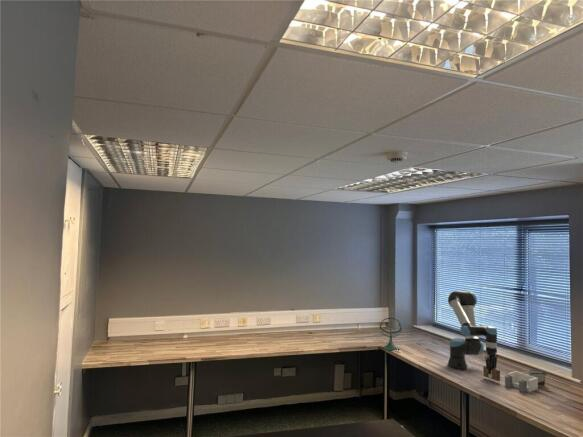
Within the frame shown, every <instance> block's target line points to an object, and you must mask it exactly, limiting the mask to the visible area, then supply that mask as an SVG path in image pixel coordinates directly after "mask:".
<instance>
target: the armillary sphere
mask: <svg viewBox="0 0 583 437" xmlns="http://www.w3.org/2000/svg"><path fill="white" fill-rule="evenodd" d="M392 316H393V315H392V312H391V313H390V317H386V318H384V319H382V321H381V322H379V331H380V332H381V334H382V335H383V336H385V337H387V338H389V339H388V340H389V341H388V343H387V344H386V345H384V346H385V348H384V346H382V347H381V349H383V351H389V352H394V351H393V350H397V348H398V347H397V346H395V344H394V343H393V338H396V337H398V336H399V335H400V334H401V333H402V331H403V326H402V323H401V322H400V321H399V320H398V319H396V318H393V317H392ZM385 320H390V325H389V331H387V330H384V329H383V328H382V325H383V324H384V321H385ZM392 320H394V321H396V322H398V326H399V327H400V328H399V329H398V330H396V331H392ZM383 332H384V333H383ZM385 333H387V334H389V335H387V334H385ZM393 334H396V335H393ZM396 347H397V348H396Z"/></svg>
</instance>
